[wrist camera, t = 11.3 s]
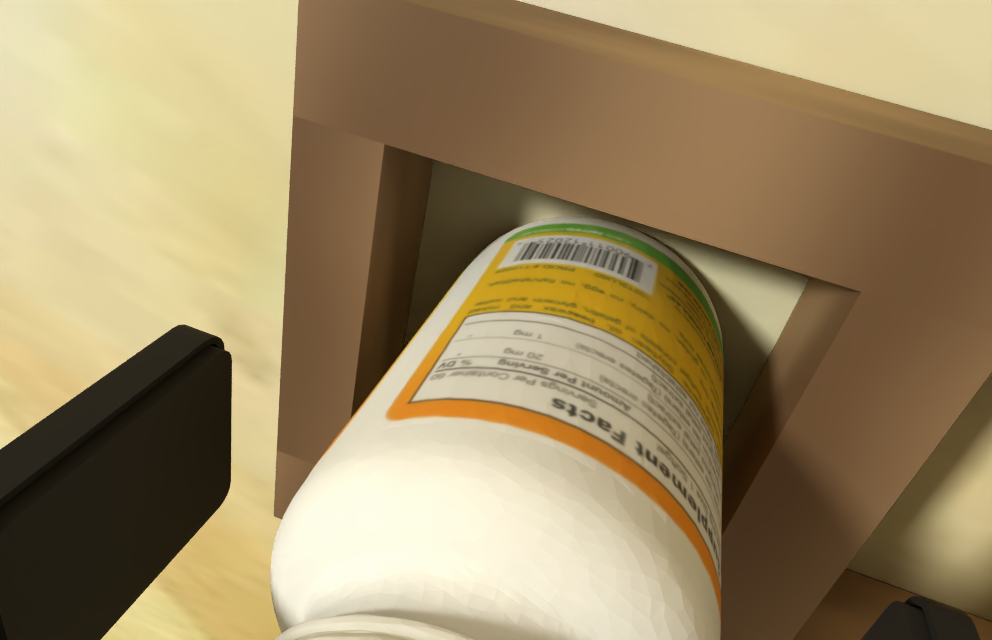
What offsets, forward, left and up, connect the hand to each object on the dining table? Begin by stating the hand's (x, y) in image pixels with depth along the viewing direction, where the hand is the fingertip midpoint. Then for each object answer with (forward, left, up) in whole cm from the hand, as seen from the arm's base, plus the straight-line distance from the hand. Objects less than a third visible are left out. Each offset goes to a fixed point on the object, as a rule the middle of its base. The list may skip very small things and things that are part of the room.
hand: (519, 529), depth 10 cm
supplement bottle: (0, 0, -5) cm, 5 cm away
